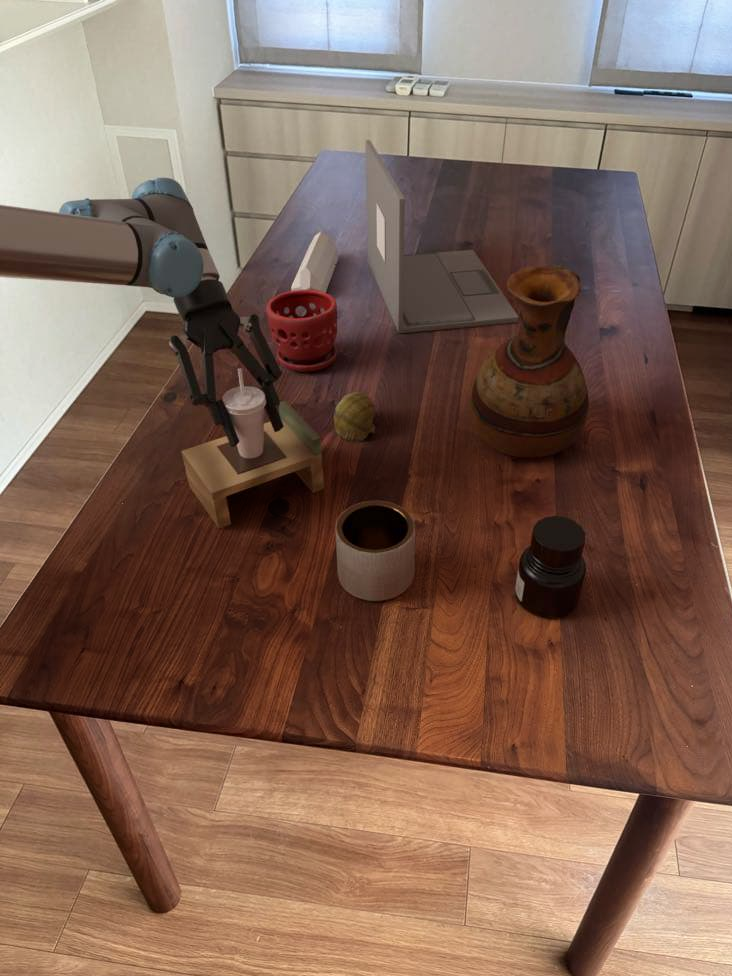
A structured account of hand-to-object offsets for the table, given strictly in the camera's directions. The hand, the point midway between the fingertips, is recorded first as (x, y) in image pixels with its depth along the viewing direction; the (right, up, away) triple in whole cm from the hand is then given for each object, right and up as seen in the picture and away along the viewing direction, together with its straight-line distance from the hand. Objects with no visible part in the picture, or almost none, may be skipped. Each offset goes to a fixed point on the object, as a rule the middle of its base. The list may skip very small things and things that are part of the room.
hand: (257, 436), depth 116 cm
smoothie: (-2, -2, +6) cm, 6 cm away
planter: (+18, -20, -3) cm, 27 cm away
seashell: (+13, +4, +23) cm, 27 cm away
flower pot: (+2, +20, +40) cm, 44 cm away
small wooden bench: (-2, -7, +10) cm, 13 cm away
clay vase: (+43, +3, +22) cm, 48 cm away
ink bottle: (+41, -23, -6) cm, 48 cm away
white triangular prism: (+1, +45, +66) cm, 80 cm away
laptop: (+29, +41, +62) cm, 79 cm away
